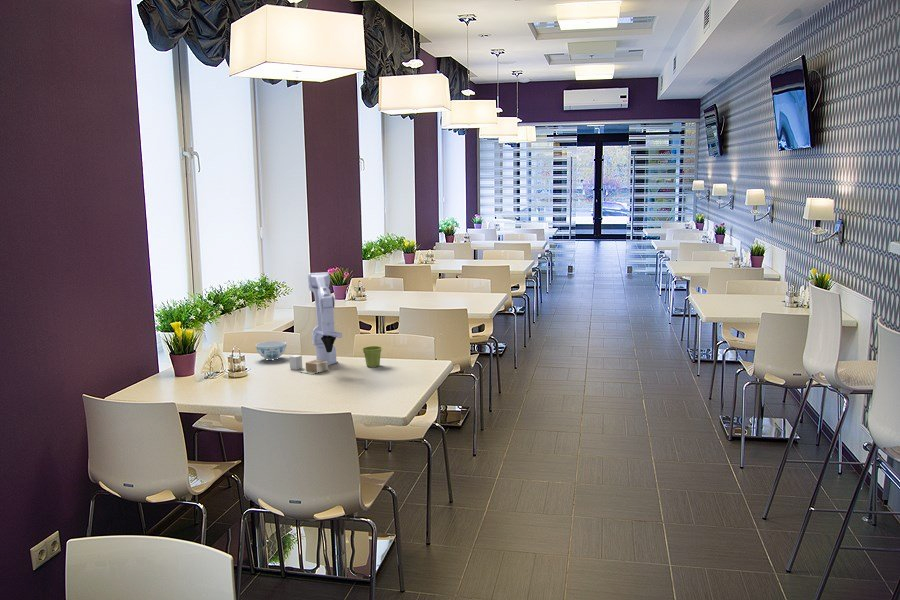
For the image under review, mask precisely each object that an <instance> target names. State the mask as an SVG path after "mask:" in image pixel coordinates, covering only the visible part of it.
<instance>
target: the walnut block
mask: <svg viewBox="0 0 900 600" xmlns="http://www.w3.org/2000/svg"><path fill="white" fill-rule="evenodd" d="M328 366H329V365H328V364H327V361H322V360H317V359H313V360H311V361H307V362H305V370H306V371H308V372H316V374H318V372H319V373H321V372H326V371H329V370H328V368H329V367H328Z"/></svg>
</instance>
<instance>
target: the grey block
mask: <svg viewBox="0 0 900 600" xmlns="http://www.w3.org/2000/svg"><path fill="white" fill-rule="evenodd" d="M302 357H303V356H302V355H299V354H294V355H290V356H289V369H290V368H291V369H290V370H294V369H298V370H300V369H299V368H301V369H303V358H302Z"/></svg>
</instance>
